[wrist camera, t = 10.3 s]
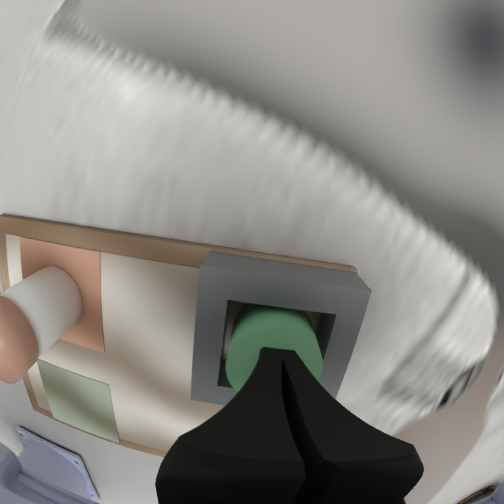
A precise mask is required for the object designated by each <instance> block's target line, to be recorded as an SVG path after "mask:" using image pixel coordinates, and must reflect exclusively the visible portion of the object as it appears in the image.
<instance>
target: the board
mask: <svg viewBox="0 0 504 504" xmlns="http://www.w3.org/2000/svg"><path fill="white" fill-rule="evenodd" d="M210 251H216V252H223V253H230V254H236V255H243V256H250V257H256V258H263V259H270V260H276V261H283V262H290V263H296V264H303V265H310V266H317V267H323V268H330V269H337V270H344V271H351V272H355V273H356V274H357V269H356V268H355V267H352V266H346V265H339V264H332V263H326V262H319V261H313V260H306V259H299V258H293V257H286V256H279V255H273V254H266V253H259V252H253V251H246V250H239V249H233V248H226V247H219V246H213V245H206V244H199V243H193V242H186V241H179V240H173V239H166V238H159V237H153V236H146V235H139V234H133V233H126V232H119V231H113V230H106V229H99V228H92V227H86V226H79V225H72V224H66V223H59V222H52V221H46V220H39V219H32V218H25V217H19V216H12V215H5V214H2V215H0V269H1V278H2V286H3V291H5V290H6V289H8V288H10V287H11V286H13V285H15V284H17V283H18V282H20V281H22V280H23V279H25V278H27V277H29V276H30V275H32V274H34V273H36V272H38V271H39V270H41V269H43V268H45V267H48V266H55V267H58V268H60V269H62V270H64V271H65V272H66V273H68V274H69V275H70V276H71V278H72V279H73V280H74V282H75V283H76V285H77V287H78V289H79V291H80V294H81V297H82V302H83V310H82V315H81V317H80V319H79V320H78V321H77V322H76V323H75V324H74V325H73V326H72V327H71V328H69V329H68V330H67V331H66V332H65V333H64V334H63V335H62V336H61V337H60V338H59V339H58V340H57V341H56V342H55V343H54V344H53V345H52V346H51V347H50V348H49V349H48V350H46V351H45V352H44V353H43V354H42V355H41V356H40V357H39V358H38V360H37V362H36V363H35V364H34V365H33V366H32V367H31V368H30V369H29V370H28V371H27V372H26V373H25V374H24V375H23V376H22V377H23V380H24V383H25V386H26V389H27V392H28V395H29V398H30V401H31V404H32V406H33V409H34V410H36V411H38V412H40V413H42V414H44V415H46V416H48V417H50V418H52V419H54V420H57V421H59V422H61V423H63V424H66V425H68V426H70V427H73V428H75V429H78V430H80V431H83V432H85V433H88V434H90V435H93V436H96V437H99V438H101V439H104V440H107V441H110V442H113V443H116V444H119V445H122V446H125V447H129V448H132V449H135V450H139V451H142V452H146V453H150V454H154V455H158V456H162V457H165V456H166V454H167V452H168V451H169V449H170V448H171V446H172V445H173V444H174V442H175V441H176V440H177V438H178V437H179V436H180V435H182V434H184V433H186V432H188V431H190V430H192V429H194V428H195V427H197V426H199V425H200V424H202V423H204V422H205V421H206V420H208V419H209V418H211V417H212V416H213V415H215V414H216V413H217V412H218V411H220V410H221V409H222V408H223V407H224V405H218V404H212V403H206V402H201V401H195V400H190V395H191V376H192V359H193V344H194V331H195V318H196V306H197V294H198V283H199V273H200V265H201V264H202V262H203V261H204V259H205V258H206V256H207V255H208V254H209V252H210ZM248 304H249V303H247V302H240V301H233V300H230V307H229V314H228V322H227V330H226V338H225V345H224V353H223V359H227V355H228V349H229V344H230V339H231V334H232V329H233V324H234V321H235V319H236V317H237V315H238V314H239V312H240V311H241V310H242V309H243V308H244V307H245V306H246V305H248ZM306 312H307V314H308V315H309V317H310V320H311V323H312V326H313V329H314V332H315V335H316V332H317V328H318V324H319V320H320V317H321V313H322V312H313V311H306Z"/></svg>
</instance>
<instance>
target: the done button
mask: <svg viewBox="0 0 504 504" xmlns="http://www.w3.org/2000/svg"><path fill="white" fill-rule="evenodd" d="M263 347H269V348H277V349H286V350H295V351H296V353H297V354H298V355H299V357H300V358H301V360H302V361H303V362H304V364H305V365H306V366H307V368H308V369H309V371H310V372H311V373H312V374H313V376H314V377H315V378H316V379H317V381H319V379H320V376H321V374H322V370H323V359H322V355H321V352H320V349H319V345H318V342H317V339H316V335H315V332H314V329H313V326H312V323H311V320H310V317H309V315H308V314H307V312H306V311H305V310H297V309H289V308H282V307H275V306H267V305H260V304H253V303H249V304H248V305H246V306H245V307H244V308H243V309H242V310H241V311H240V312H239V314H238V315H237V317H236V319H235V321H234V324H233V329H232V334H231V339H230V344H229V349H228V355H227V360H226V374H227V378H228V380H229V382H230V384H231V385H232V387H233V388H234V389H235V390H236V391H237V392H239V390H240V389H241V388H242V386H243V385H244V384H245V382H246V381H247V379H248V378H249V376H250V375H251V373H252V371H253V369H254V368H255V366H256V364H257V361H258V359H259V353H260V349H261V348H263Z"/></svg>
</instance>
